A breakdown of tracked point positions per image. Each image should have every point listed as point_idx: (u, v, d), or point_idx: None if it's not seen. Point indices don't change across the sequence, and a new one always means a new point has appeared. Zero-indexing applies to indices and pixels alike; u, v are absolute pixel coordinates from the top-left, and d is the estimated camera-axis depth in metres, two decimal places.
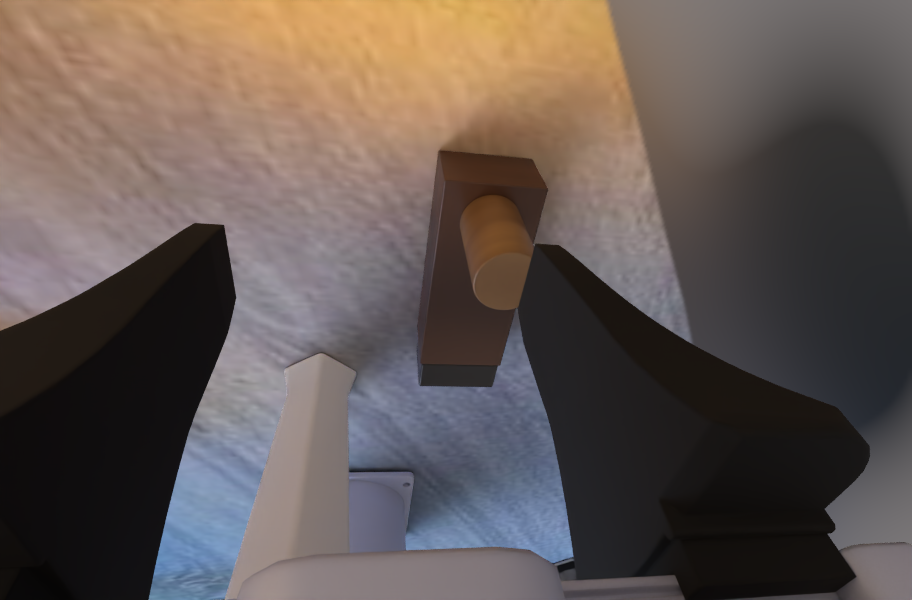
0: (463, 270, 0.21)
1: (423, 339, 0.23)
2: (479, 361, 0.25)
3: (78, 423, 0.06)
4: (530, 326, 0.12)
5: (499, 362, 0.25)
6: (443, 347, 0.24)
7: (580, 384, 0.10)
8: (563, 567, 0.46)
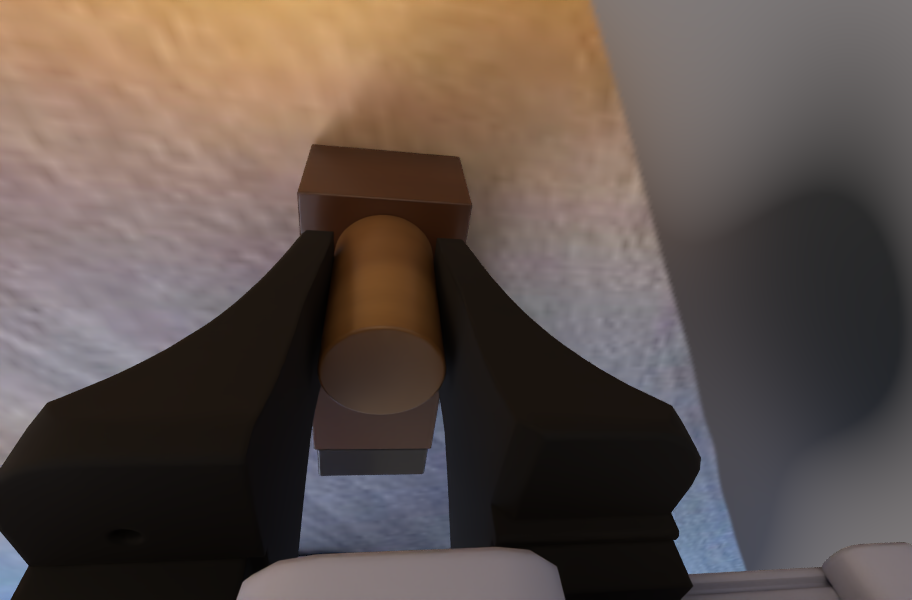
0: None
1: (313, 419, 0.16)
2: (400, 444, 0.17)
3: (279, 423, 0.06)
4: None
5: (429, 444, 0.18)
6: (344, 428, 0.17)
7: (458, 382, 0.09)
8: None
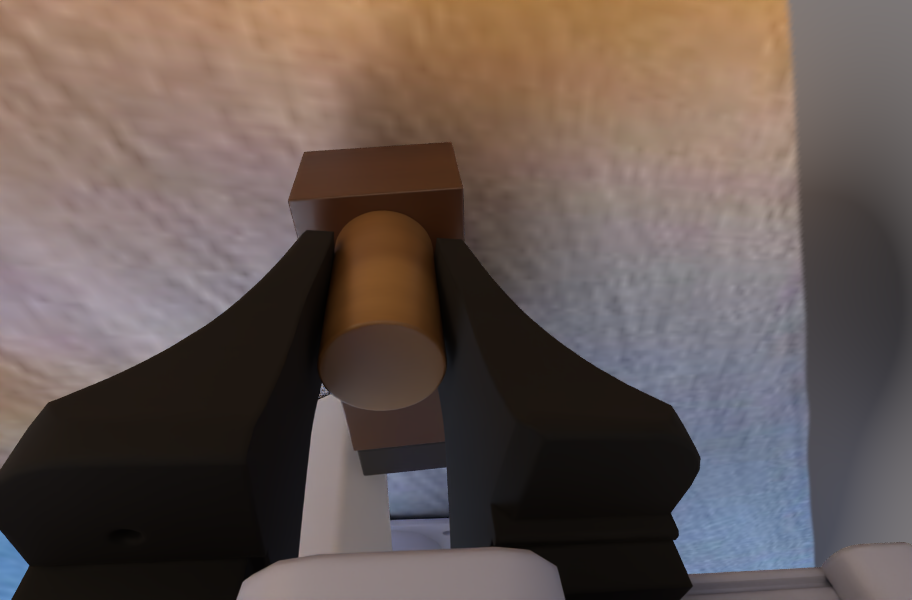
0: None
1: (347, 421, 0.16)
2: (437, 438, 0.17)
3: (280, 424, 0.06)
4: None
5: None
6: (378, 427, 0.17)
7: (458, 382, 0.09)
8: None
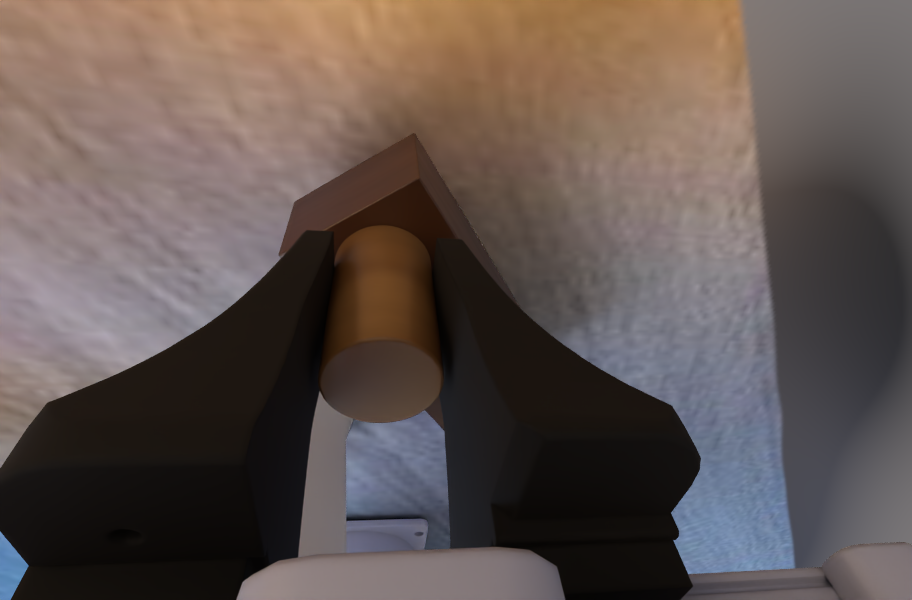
0: None
1: (439, 423, 0.17)
2: None
3: (279, 424, 0.06)
4: None
5: None
6: None
7: (458, 382, 0.09)
8: None
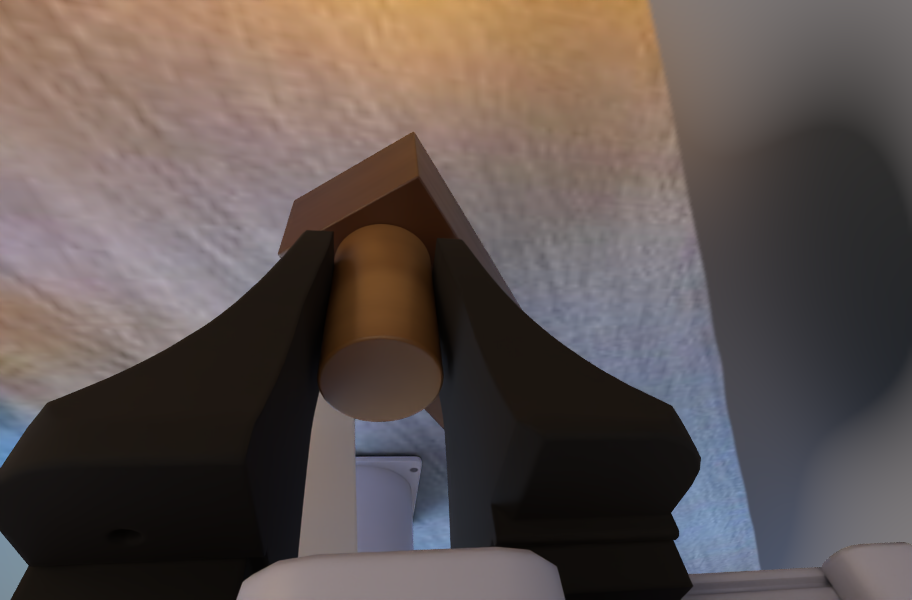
0: None
1: (439, 422, 0.17)
2: None
3: (279, 423, 0.06)
4: None
5: None
6: None
7: (458, 382, 0.09)
8: None
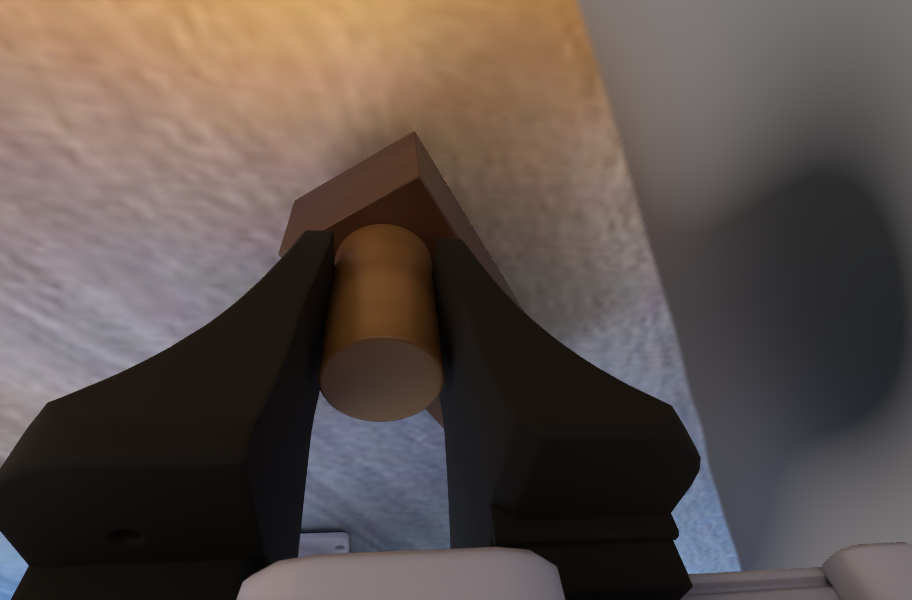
0: None
1: (439, 422, 0.17)
2: None
3: (280, 423, 0.06)
4: None
5: None
6: None
7: (458, 382, 0.09)
8: None
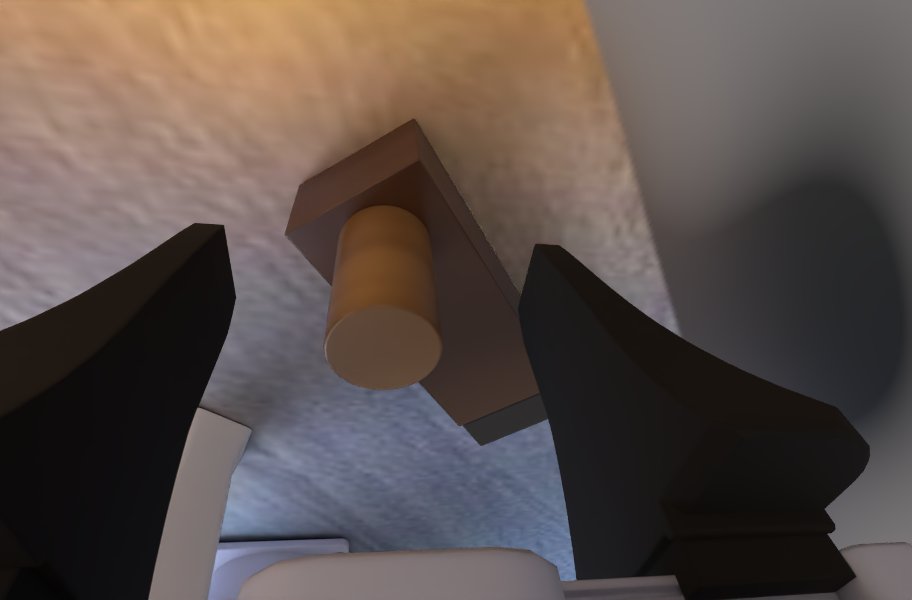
0: None
1: (438, 402, 0.18)
2: (528, 392, 0.18)
3: (79, 423, 0.06)
4: (530, 326, 0.12)
5: None
6: (469, 399, 0.18)
7: (580, 384, 0.10)
8: None
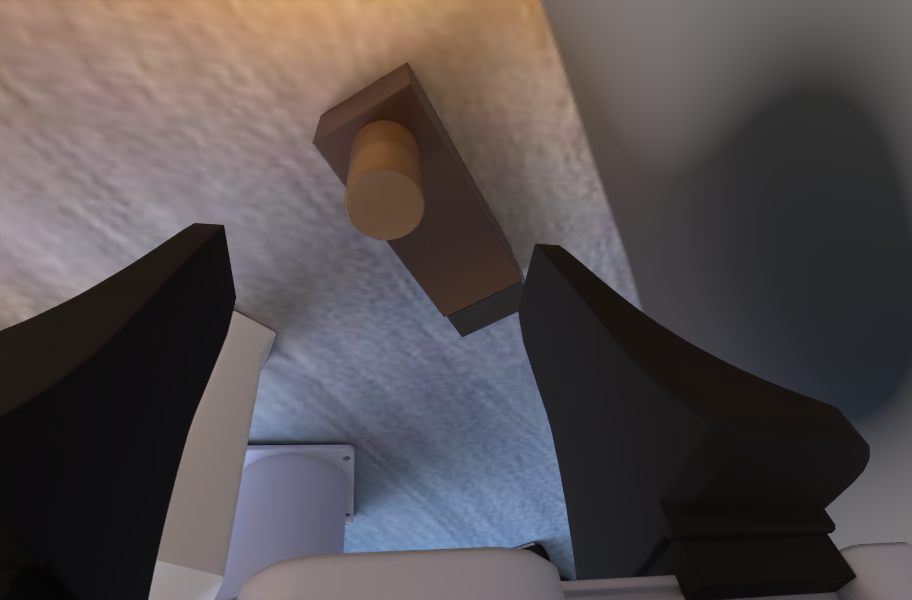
0: None
1: (427, 294, 0.22)
2: (498, 286, 0.23)
3: (80, 423, 0.06)
4: (530, 326, 0.12)
5: (518, 277, 0.22)
6: (451, 291, 0.22)
7: (580, 384, 0.10)
8: None
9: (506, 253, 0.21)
